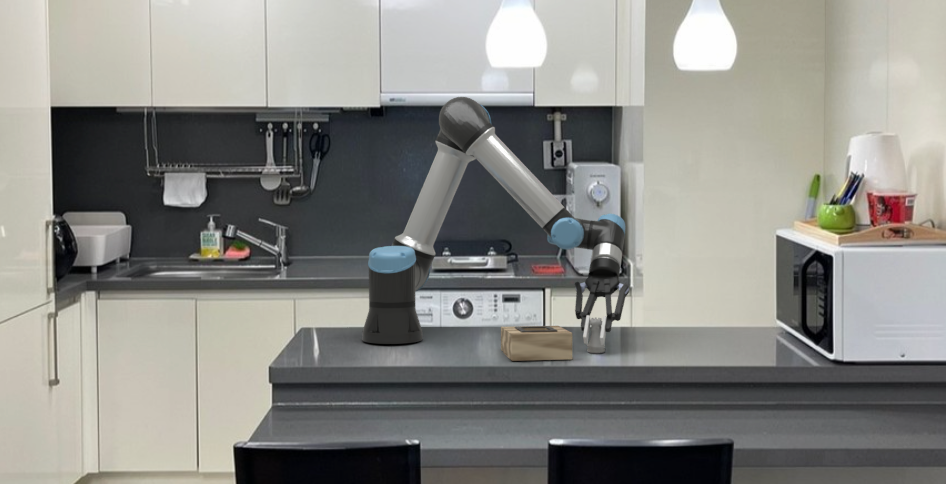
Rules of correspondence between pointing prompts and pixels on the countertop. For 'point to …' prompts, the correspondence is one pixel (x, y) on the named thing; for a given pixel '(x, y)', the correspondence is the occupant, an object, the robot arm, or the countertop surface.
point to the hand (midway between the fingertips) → (593, 340)
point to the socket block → (536, 343)
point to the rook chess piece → (595, 337)
